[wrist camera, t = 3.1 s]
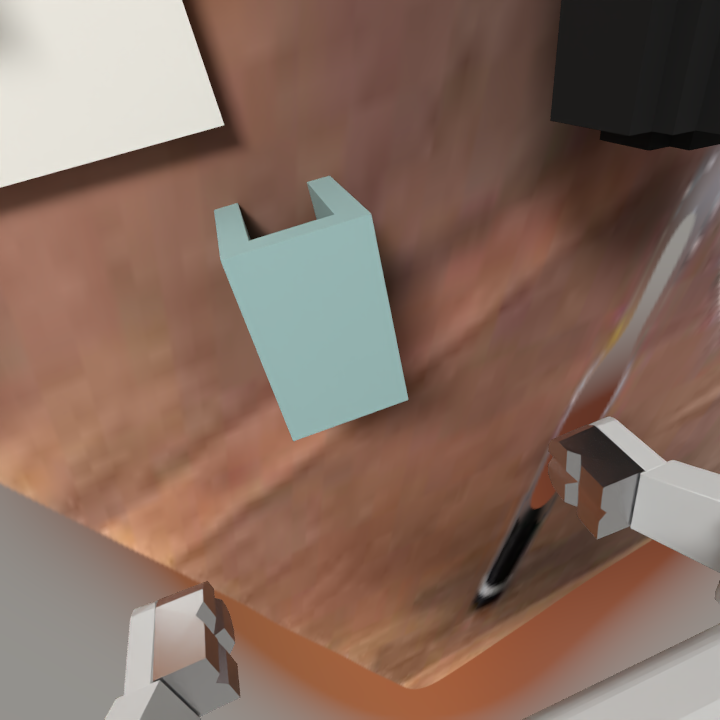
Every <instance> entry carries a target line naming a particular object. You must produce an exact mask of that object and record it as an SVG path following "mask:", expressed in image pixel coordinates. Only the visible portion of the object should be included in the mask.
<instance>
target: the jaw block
mask: <svg viewBox="0 0 720 720" xmlns="http://www.w3.org/2000/svg"><path fill="white" fill-rule="evenodd" d="M307 184H308V188H309V192H310V196H311V199H312V203H313V207H314V211H315V214H316V218H317V220H315V221H311V222H308V223H305V224H302V225H298V226H295V227H292V228H289V229H285V230H282V231H279V232H276V233H272V234H269V235H266V236H263V237H259V238H256V239H253V240H251V239H250V236H249V234H248V231H247V228H246V225H245V222H244V219H243V217H242V214H241V211H240V208H239V205H238V203H236V204H233V205H229V206H226V207H223V208H219V209H216V210H214V213H215V221H216V229H217V237H218V244H219V252H220V260H221V263H222V265H223V268H224V270H225V273H226V275H227V278H228V280H229V283H230V285H231V287H232V290H233V292H234V295H235V297H236V300H237V302H238V305H239V307H240V310H241V312H242V315H243V317H244V320H245V322H246V325H247V327H248V330H249V332H250V335H251V337H252V340H253V342H254V345H255V347H256V350H257V352H258V355H259V357H260V360H261V362H262V365H263V367H264V370H265V372H266V375H267V377H268V379H269V382H270V384H271V387H272V389H273V392H274V394H275V397H276V399H277V402H278V404H279V407H280V409H281V412H282V414H283V417H284V419H285V422H286V424H287V427H288V429H289V432H290V434H291V437H292V439H293V441H295V440H298V439H301V438H304V437H307V436H309V435H312V434H315V433H318V432H320V431H323V430H326V429H329V428H332V427H334V426H337V425H340V424H343V423H345V422H348V421H351V420H354V419H357V418H359V417H362V416H365V415H368V414H371V413H373V412H376V411H379V410H382V409H384V408H387V407H390V406H393V405H396V404H398V403H401V402H404V401H407V400H408V395H407V390H406V385H405V380H404V375H403V370H402V365H401V360H400V355H399V350H398V345H397V340H396V335H395V330H394V325H393V320H392V315H391V311H390V306H389V301H388V296H387V291H386V286H385V281H384V276H383V271H382V266H381V261H380V256H379V251H378V246H377V241H376V236H375V231H374V226H373V221H372V216H371V213H370V212H369V211H368V210H366V209H365V208H364V207H363V206H362V205H361V204H360V203H359V202H358V201H357V200H356V199H354V198H353V197H352V196H351V195H350V194H349V193H348V192H347V191H346V190H345V189H344V188H342V187H341V186H340V185H339V184H338V183H337V182H336V181H335V180H334V179H333V178H332V177H330V176H327V177H323V178H320V179H317V180H313V181H310V182H307Z"/></svg>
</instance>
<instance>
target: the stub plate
mask: <svg viewBox="0 0 720 720" xmlns="http://www.w3.org/2000/svg"><path fill="white" fill-rule="evenodd" d="M223 125H224V123H223V120H222V117H221V114H220V111H219V108H218V105H217V102H216V99H215V96H214V93H213V90H212V87H211V84H210V81H209V78H208V75H207V72H206V70H205V67H204V64H203V61H202V58H201V55H200V52H199V49H198V46H197V43H196V40H195V37H194V34H193V31H192V28H191V25H190V22H189V19H188V17H187V14H186V11H185V8H184V5H183V2H182V0H0V188H1V187H4V186H8V185H11V184H15V183H19V182H22V181H26V180H29V179H33V178H37V177H40V176H44V175H47V174H51V173H54V172H58V171H62V170H65V169H69V168H72V167H76V166H80V165H83V164H87V163H90V162H94V161H98V160H101V159H105V158H108V157H112V156H116V155H119V154H123V153H126V152H130V151H134V150H137V149H141V148H144V147H148V146H151V145H155V144H159V143H162V142H166V141H169V140H173V139H177V138H180V137H184V136H187V135H191V134H195V133H198V132H202V131H205V130H209V129H213V128H216V127H220V126H223Z"/></svg>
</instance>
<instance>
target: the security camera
mask: <svg viewBox="0 0 720 720" xmlns="http://www.w3.org/2000/svg"><path fill="white" fill-rule="evenodd" d="M550 121H555V122H560V123H565V124H571V125H576V126H581V127H586V128H591V129H596V130H601V135H600V140H603V141H607V142H612V143H617V144H621V145H626V146H630V147H635V148H640V149H644V150H654V149H659V148H664V147H669V146H670V147H675V148H680V149H685V150H693V149H698V148H703V147H708V146H713V145H718V144H720V0H561V11H560V22H559V33H558V44H557V55H556V65H555V76H554V87H553V98H552V109H551V120H550Z"/></svg>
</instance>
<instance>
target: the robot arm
mask: <svg viewBox="0 0 720 720" xmlns="http://www.w3.org/2000/svg"><path fill="white" fill-rule="evenodd" d="M548 452H549V453H550V454H551V455H552V456H553V458H552V460H551V461H550V462H549V464H548V473H549V477H550V480H551V483H552V485H553V487H554V489H555V490H556V492H557V493H558V495H559V496H560V497H561V498H562V499H563V501H564V502H566V503H569V504H571V505H574V506H576V507H577V517H578V518H579V519H580V521H581V522H582V523H583V524H584V525H585V526H586V528H587V529H588V530H589V531H590V532H591V533H592V535H593V536H594V537H595V538H596V539H600V538H602V537H604V536H607V535H609V534H612V533H614V532H617V531H619V530H622V529H624V528H626V527H629V526H631V527H630V528H631V529H633V530H635V531H637V532H639V533H641V534H643V535H645V536H647V537H649V538H651V539H653V540H655V541H657V542H659V543H661V544H663V545H665V546H668V547H670V548H671V549H674V550H675V551H677V552H679V553H681V554H683V555H685V556H688V557H689V558H691V559H693V560H695V561H697V562H699V563H701V564H703V565H705V566H707V567H709V568H711V569H713V570H715V571H717V572H719V573H720V474H717V473H714V472H711V471H707V470H704V469H701V468H698V467H694V466H691V465H688V464H685V463H681V462H678V461H675V460H671V461H668V462H666V461H665V460H664V459H663V458H662V457H660V456H659V455H658V454H657V453H656V452H654V451H653V450H652V449H651V448H650V447H648V446H647V445H646V444H645V443H644V442H642V441H641V440H640V439H639V438H638V437H636V436H635V435H634V434H633V433H632V432H630V431H629V430H628V429H627V428H626V427H625V426H623V425H622V424H621V423H620V422H619V421H617V420H616V419H615V418H612V417H610V416H609V417H605V418H603V419H601V420H598V421H596V422H594V423H591V424H589V425H585V426H582V427H580V428H578V429H575V430H573V431H571V432H568V433H566V434H564V435H562V436H559V437H557V438H554V439H552V440H551V441H550V443H549V450H548ZM715 600H716V601H717V602H718V603H719V604H720V581H719V584H718V586H717V589H716V591H715ZM234 644H235V637H234V629H233V625H232V620H231V616H230V614H229V611H228V609H227V607H226V605H225V604H224V602H223V601H222V600H220V599H216V598H215V596H214V588H213V587H212V586H211V585H210V583H209V582H208V581H206V582H203V583H201V584H198V585H196V586H193V587H190V588H188V589H185V590H182V591H180V592H177V593H175V594H172V595H170V596H167V597H164V598H162V599H159V600H156V601H154V602H152V603H149V604H146V605H144V606H141V607H139V608H136V609H134V611H133V613H132V616H131V618H130V626H129V639H128V650H127V662H126V674H125V685H124V695H122V696H120V697H118V698H116V700H115V701H114V703H113V705H112V707H111V709H110V710H109V712H108V714H107V716H106V717H105V719H104V720H201V719H200V716H203V715H205V714H207V713H209V712H211V711H213V710H215V709H217V708H219V707H221V706H224V705H226V704H228V703H230V702H232V701H234V700H236V699H238V698H240V688H239V679H238V666H237V663H236V662H235V661H234V659H233V658H232V657H231V655H230V653H231V651H232V649H233V646H234ZM522 720H720V624H718V625H716V626H713V627H712V628H709V629H707V630H705V631H704V632H701V633H699V634H697V635H695V636H693V637H691V638H689V639H687V640H685V641H683V642H681V643H679V644H676V645H674V646H673V647H670V648H668V649H666V650H664V651H662V652H660V653H658V654H656V655H654V656H652V657H650V658H648V659H646V660H644V661H642V662H640V663H637V664H636V665H633V666H631V667H629V668H627V669H625V670H623V671H621V672H619V673H617V674H615V675H613V676H611V677H609V678H607V679H605V680H603V681H601V682H598V683H596V684H594V685H592V686H590V687H588V688H586V689H584V690H582V691H580V692H578V693H576V694H574V695H572V696H570V697H568V698H566V699H563V700H561V701H560V702H557V703H555V704H554V705H551V706H549V707H547V708H545V709H543V710H541V711H539V712H537V713H535V714H533V715H531V716H529V717H527V718H525V719H522Z"/></svg>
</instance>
